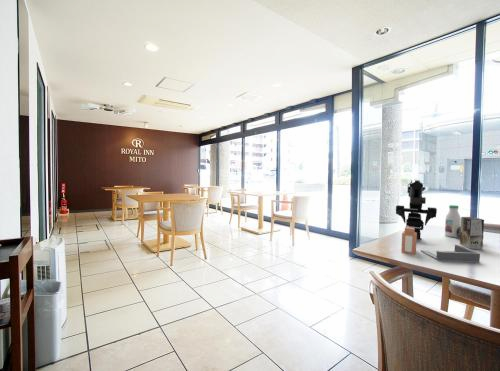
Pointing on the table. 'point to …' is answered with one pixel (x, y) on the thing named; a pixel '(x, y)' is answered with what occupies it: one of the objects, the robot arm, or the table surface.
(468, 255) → the tray
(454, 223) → the milk bottle
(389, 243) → the table surface
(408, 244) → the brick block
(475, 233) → the coffee box
